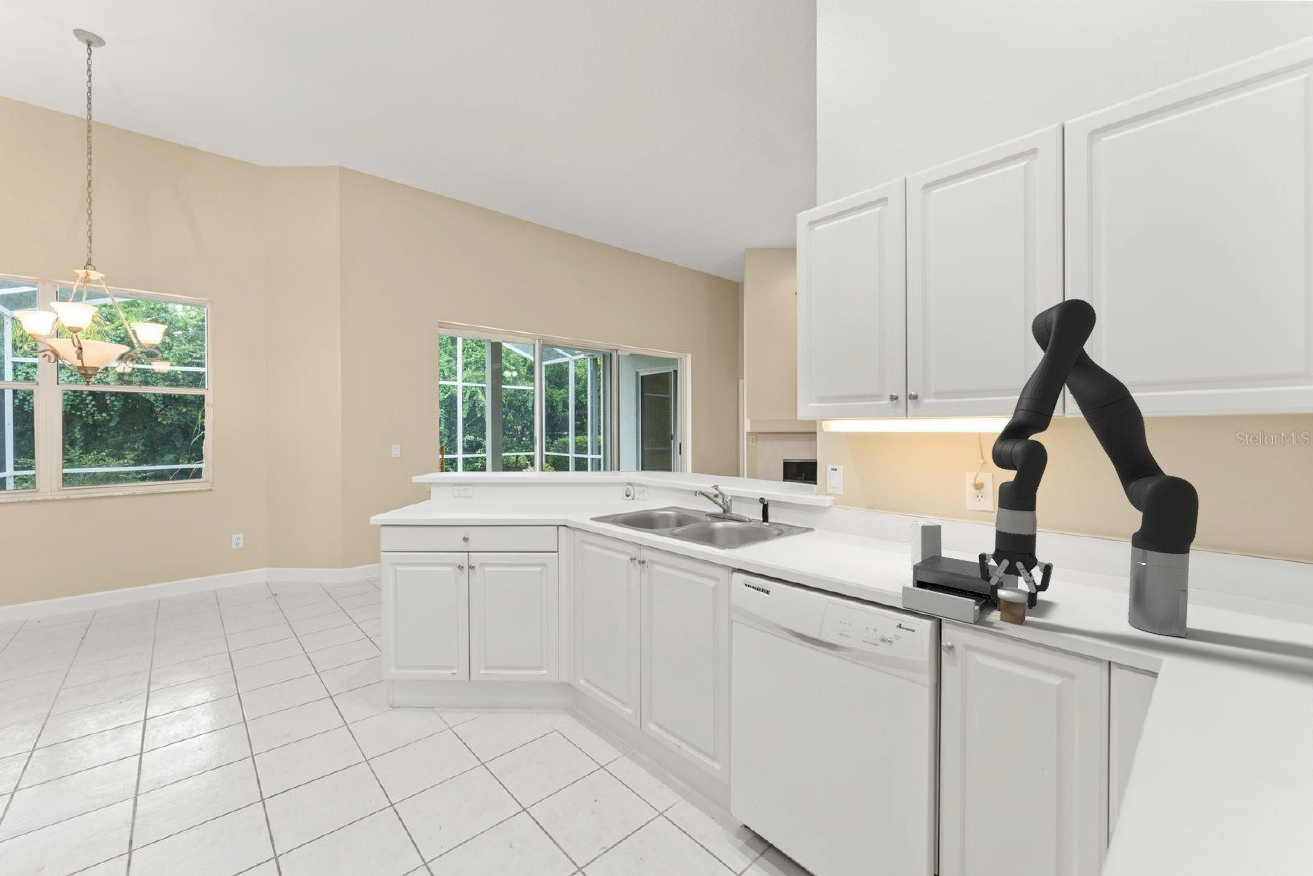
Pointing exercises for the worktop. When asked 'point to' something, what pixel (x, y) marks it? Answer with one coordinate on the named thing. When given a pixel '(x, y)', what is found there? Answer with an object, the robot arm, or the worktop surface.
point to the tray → (944, 602)
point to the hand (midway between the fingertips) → (1012, 604)
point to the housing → (957, 575)
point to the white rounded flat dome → (1013, 594)
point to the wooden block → (1012, 612)
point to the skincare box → (924, 541)
